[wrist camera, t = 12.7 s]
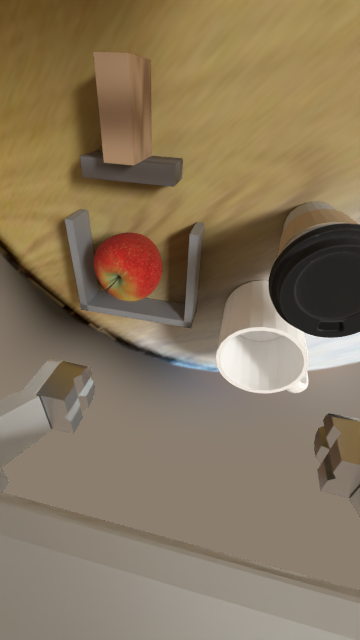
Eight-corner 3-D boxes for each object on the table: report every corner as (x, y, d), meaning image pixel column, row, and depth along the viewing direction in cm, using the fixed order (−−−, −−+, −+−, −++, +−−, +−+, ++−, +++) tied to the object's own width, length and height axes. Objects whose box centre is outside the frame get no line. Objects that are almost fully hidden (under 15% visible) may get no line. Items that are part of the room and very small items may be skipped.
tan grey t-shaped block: (86, 57, 29) (53, 50, 25) (187, 61, 28) (172, 54, 23) (98, 170, 35) (73, 181, 31) (181, 178, 34) (169, 191, 29)
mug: (209, 309, 44) (198, 358, 35) (263, 264, 38) (264, 310, 30) (270, 359, 47) (271, 415, 38) (328, 324, 41) (344, 381, 33)
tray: (80, 209, 39) (64, 219, 36) (204, 223, 36) (198, 235, 33) (93, 295, 47) (81, 309, 43) (196, 311, 44) (190, 328, 41)
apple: (181, 266, 40) (162, 307, 33) (133, 285, 44) (105, 327, 36) (150, 210, 37) (120, 241, 29) (101, 236, 40) (62, 270, 33)
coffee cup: (288, 278, 38) (300, 359, 26) (251, 214, 35) (246, 275, 23) (370, 240, 33) (429, 318, 22) (337, 162, 30) (386, 204, 18)
